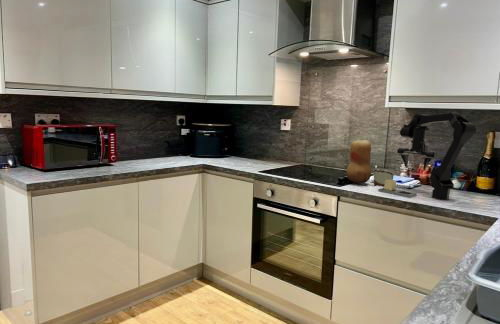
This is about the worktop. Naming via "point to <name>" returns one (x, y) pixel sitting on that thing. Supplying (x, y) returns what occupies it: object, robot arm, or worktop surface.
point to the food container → (382, 176)
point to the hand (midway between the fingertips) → (415, 169)
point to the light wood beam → (390, 185)
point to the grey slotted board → (399, 193)
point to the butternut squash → (359, 162)
